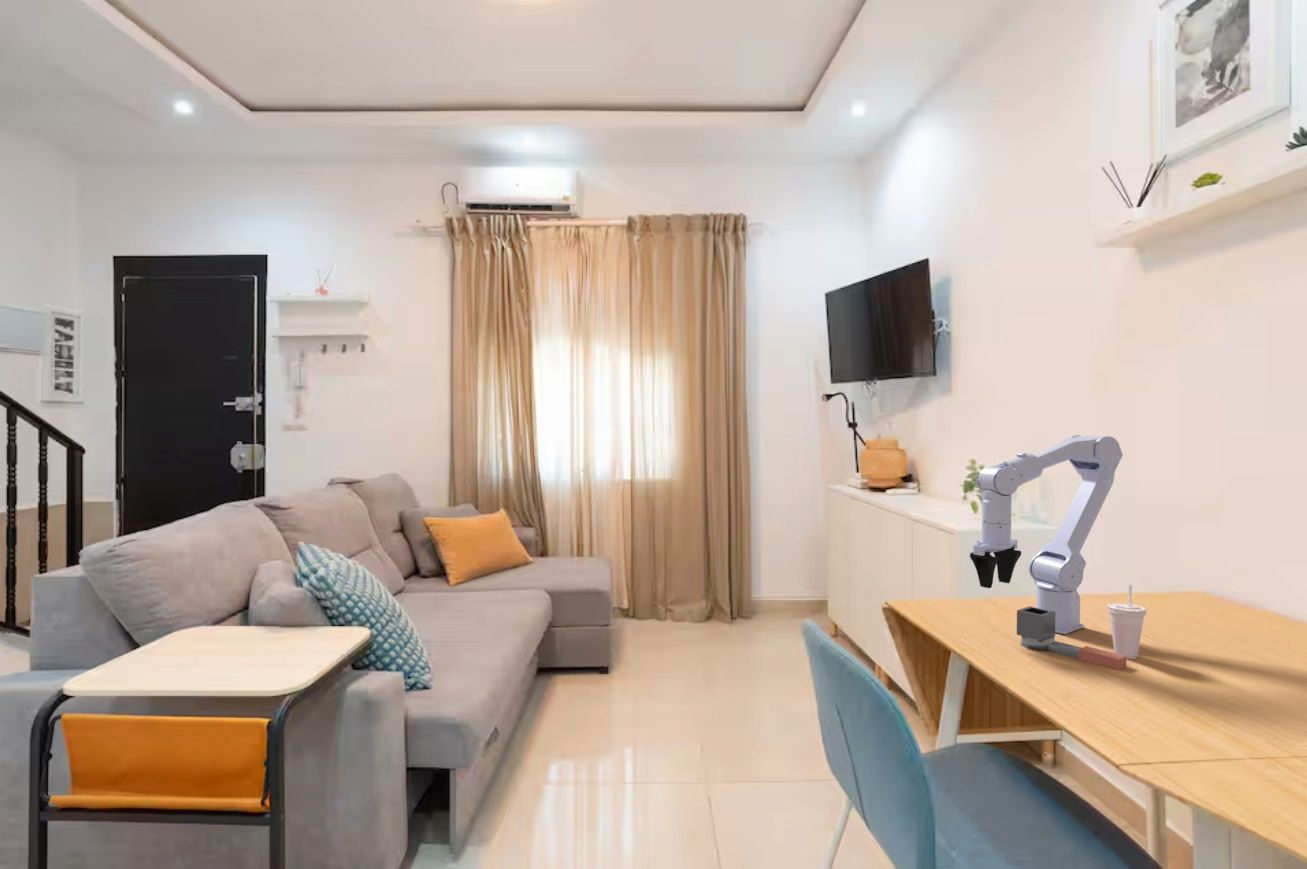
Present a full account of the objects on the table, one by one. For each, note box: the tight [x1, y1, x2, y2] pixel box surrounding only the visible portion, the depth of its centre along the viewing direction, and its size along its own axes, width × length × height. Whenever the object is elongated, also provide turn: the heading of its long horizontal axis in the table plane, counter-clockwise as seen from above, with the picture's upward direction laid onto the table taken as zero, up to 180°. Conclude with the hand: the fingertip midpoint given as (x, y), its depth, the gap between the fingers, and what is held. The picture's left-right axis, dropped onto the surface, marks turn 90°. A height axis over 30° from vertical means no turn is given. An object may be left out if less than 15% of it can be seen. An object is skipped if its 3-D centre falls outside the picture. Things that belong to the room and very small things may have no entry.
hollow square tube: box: [1016, 606, 1056, 641], centre depth 145 cm, size 5×5×5 cm
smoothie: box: [1106, 584, 1147, 660], centre depth 139 cm, size 6×6×14 cm
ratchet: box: [1020, 635, 1127, 671], centre depth 140 cm, size 18×6×5 cm, turn 36°
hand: (995, 584), depth 154 cm, fingers open, 7 cm apart
